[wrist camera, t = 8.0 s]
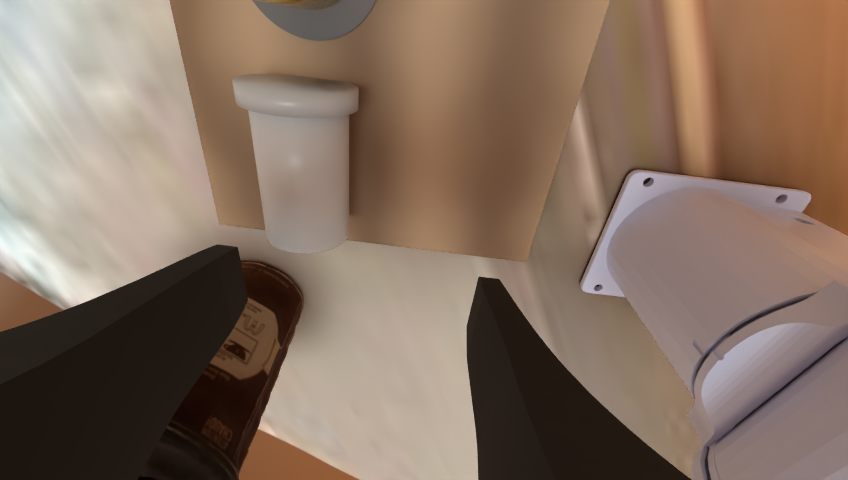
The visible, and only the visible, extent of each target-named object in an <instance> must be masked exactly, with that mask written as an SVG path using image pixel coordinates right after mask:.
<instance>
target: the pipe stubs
mask: <svg viewBox="0 0 848 480" xmlns="http://www.w3.org/2000/svg"><path fill="white" fill-rule="evenodd" d="M232 83H233V89H234V96H235V102H236V104H237V105H238V106H239V107H241V108H244V109H246V110H248V113H249V119H250V126H251V133H252V140H253V147H254V154H255V161H256V168H257V174H258V181H259V188H260V195H261V202H262V209H263V216H264V223H265V229H266V236H267V240H268V241H269V243H270V244H271V245H273V246H274V247H276V248H278V249H280V250H283V251H287V252H291V253H301V254H307V253H318V252H323V251H327V250H330V249H333V248H335V247H337V246H339V245H340V244H342V243H343V242H344V241H345V240H346V239H347V237H348V235H349V115H350V114H353V113H355V112H357V111H358V102H359V88H358V87H357V86H355V85H353V84H351V83H347V82H344V81H336V80H328V79H321V78H313V77H305V76H297V75H289V74H248V75H241V76H237V77H234V78H233V79H232Z"/></svg>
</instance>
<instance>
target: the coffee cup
mask: <svg viewBox="0 0 848 480" xmlns="http://www.w3.org/2000/svg"><path fill="white" fill-rule="evenodd" d="M241 266H242V271H243V276H244V281H245V286H246V291H247V296H248V301H247V304H246V306H245V308H244V310H243V312H242V314H241V316H240V318H239V319H238V321H237V323H236V325H235V327H234V329H233V330H232V332H231V333H230V335H229V336H228V338H227V339H226V340H225V342H224V343H223V345H222V346H221V348H220V349H219V350H218V352H217V353H216V355H215V356H214V358H213V359H212V360H211V362H210V363H209V365H208V366H207V367H206V369H205V370H204V372H203V373H202V374H201V376H200V377H199V379H198V380H197V381H196V383H195V384H194V386H193V387H192V388H191V390H190V391H189V393H188V394H187V395H186V397H185V398H184V400H183V401H182V403H181V404H180V406H179V407H178V409H177V411H176V412H175V414H174V415H173V417H172V419H171V421H170V422H169V424H168V426H167V427H166V429H165V431H164V433H163V434H162V436H161V438H160V440H159V441H158V443H157V445H156V447H155V448H154V450H153V452H152V454H151V456H150V457H149V459H148V461H147V463H146V465H145V467H144V469H143V470H142V472H141V474H140V476H139V478H138V480H239V479H238V478H239V476H238V475H239V473H240V471H241V468H242V466H243V464H244V461H245V459H246V456H247V454H248V449H249V447H250V445H251V443H252V441H253V438H254V436H255V434H256V431H257V429H258V426H259V424H260V420H261V416H262V414H263V413H264V411H265V408H266V405H267V403H268V401H269V398H270V394H271V391H272V389H273V388H274V385H275V382H276V380H277V378H278V375H279V371H280V368H281V366H282V364H283V361H284V359H285V357H286V355H287V351H288V347H289V345H290V343H291V341H292V339H293V336H294V333H295V328H296V325H297V323H298V321H299V318H300V315H301V312H302V308H303V297H302V294H301V293H300V291H299V290H298V288H297V287H296V286H295V284H294V283H293V282H292V281H291V280H290V279H289V278H288V277H287V276H286V275H284V274H282V273H281V272H279V271H277V270H275V269H273V268H270V267H268V266H265V265H263V264H259V263H254V262H241Z"/></svg>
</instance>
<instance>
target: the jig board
mask: <svg viewBox="0 0 848 480" xmlns="http://www.w3.org/2000/svg"><path fill="white" fill-rule="evenodd" d="M609 2H610V0H376V2H375V4H374V6H373V8H372V10H371V11H370V13H369V14H368V16H367V17H366V18H365V19H364V21H363V22H362V23H361V24H360V25H358V26H357V27H356V28H355V29H354V30H352V31H351V32H349V33H348V34H345V35H343V36H341V37H338V38H335V39H331V40H321V41H319V40H308V39H304V38H300V37H297V36H294V35H292V34H290V33H288V32H286V31H284V30H283V29H281V28H280V27H278V26H277V25H275V24H274V23H273V22H272V21H271V20H269V19H268V18H267V17H266V16H265V15H264V14H263V13H262V12H261V11H260V10H259V8H258V7H257V6H256V4H255V3H254V2H253V1H252V0H170V4H171V9H172V13H173V18H174V22H175V27H176V31H177V36H178V40H179V45H180V49H181V54H182V58H183V63H184V67H185V72H186V76H187V81H188V85H189V90H190V94H191V99H192V103H193V108H194V112H195V117H196V121H197V126H198V130H199V135H200V139H201V144H202V148H203V153H204V157H205V162H206V166H207V170H208V175H209V179H210V184H211V188H212V193H213V197H214V202H215V206H216V211H217V215H218V220H219V224H221V225H229V226H238V227H246V228H254V229H262V230H266V229H265V223H264V216H263V209H262V202H261V195H260V188H259V181H258V174H257V168H256V161H255V154H254V147H253V140H252V133H251V126H250V119H249V113H248V110H246V109H244V108H241V107H239V106H238V105H237V104H236V102H235V96H234V89H233V83H232V79H233V78H234V77H237V76H241V75H248V74H289V75H297V76H305V77H313V78H321V79H328V80H336V81H344V82H347V83H351V84H353V85H355V86H357V87H358V88H359V102H358V111H357V112H355V113H353V114H350V115H349V235H348V237H347V239H346V240H351V241H359V242H368V243H376V244H384V245H392V246H400V247H408V248H416V249H425V250H433V251H441V252H449V253H457V254H465V255H473V256H481V257H490V258H498V259H506V260H514V261H522V262H526V261H527V258H528V255H529V251H530V248H531V245H532V242H533V239H534V236H535V233H536V230H537V227H538V223H539V220H540V217H541V214H542V211H543V208H544V205H545V202H546V198H547V195H548V192H549V189H550V186H551V183H552V180H553V177H554V174H555V170H556V167H557V164H558V161H559V158H560V155H561V152H562V149H563V146H564V142H565V139H566V136H567V133H568V130H569V127H570V124H571V121H572V118H573V114H574V111H575V108H576V105H577V102H578V99H579V96H580V93H581V90H582V86H583V83H584V80H585V77H586V74H587V71H588V68H589V65H590V61H591V58H592V55H593V52H594V49H595V46H596V43H597V40H598V37H599V33H600V30H601V27H602V24H603V21H604V18H605V15H606V12H607V9H608V5H609Z"/></svg>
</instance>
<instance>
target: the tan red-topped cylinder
mask: <svg viewBox="0 0 848 480" xmlns="http://www.w3.org/2000/svg"><path fill="white" fill-rule="evenodd" d="M255 1H261V2H267V3H273V4H279V5H285V6H291V7H297V8H303V9H309V10H320V9H325V8H328V7H331V6H333V5H335V4H337V3H338V2H339V1H341V0H255Z"/></svg>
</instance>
